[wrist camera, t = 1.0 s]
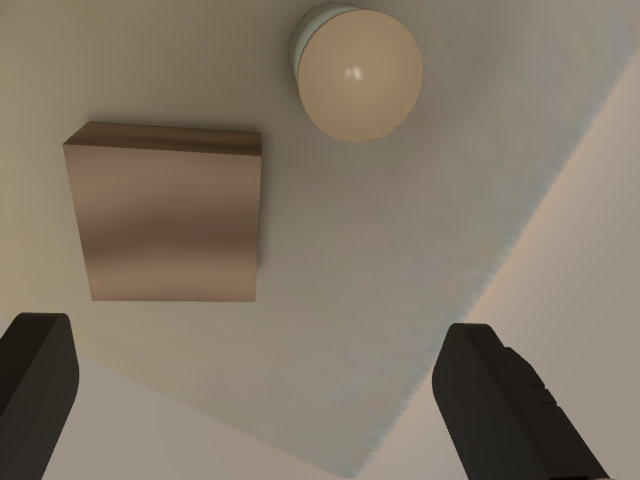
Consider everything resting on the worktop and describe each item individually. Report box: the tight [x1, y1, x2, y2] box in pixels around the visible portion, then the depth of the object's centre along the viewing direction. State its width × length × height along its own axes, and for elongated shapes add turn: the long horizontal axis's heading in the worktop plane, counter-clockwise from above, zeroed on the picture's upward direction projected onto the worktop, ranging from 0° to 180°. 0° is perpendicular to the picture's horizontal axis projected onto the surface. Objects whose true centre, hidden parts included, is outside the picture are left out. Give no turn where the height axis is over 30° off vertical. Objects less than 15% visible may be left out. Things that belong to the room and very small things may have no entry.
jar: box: [289, 3, 423, 142], centre depth 22 cm, size 5×5×8 cm
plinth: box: [63, 122, 262, 302], centre depth 27 cm, size 10×10×4 cm
